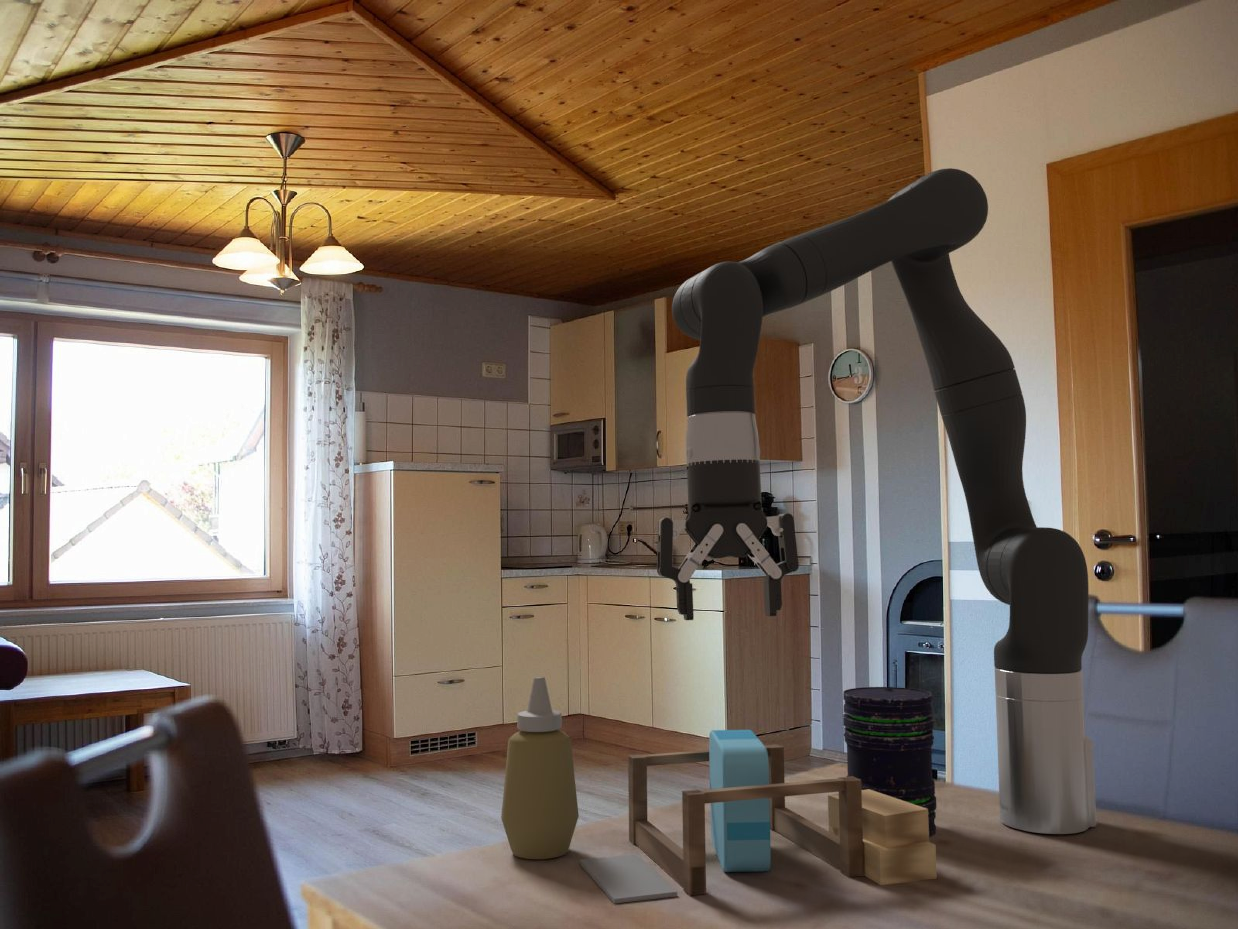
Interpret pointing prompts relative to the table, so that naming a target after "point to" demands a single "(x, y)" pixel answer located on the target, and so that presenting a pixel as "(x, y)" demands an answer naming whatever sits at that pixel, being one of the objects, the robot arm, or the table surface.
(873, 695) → the dark navy cylinder
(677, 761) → the frame
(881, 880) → the offcut lower
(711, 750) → the blue rounded block
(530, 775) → the squeeze bottle
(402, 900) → the table surface
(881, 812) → the offcut upper
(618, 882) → the mat
